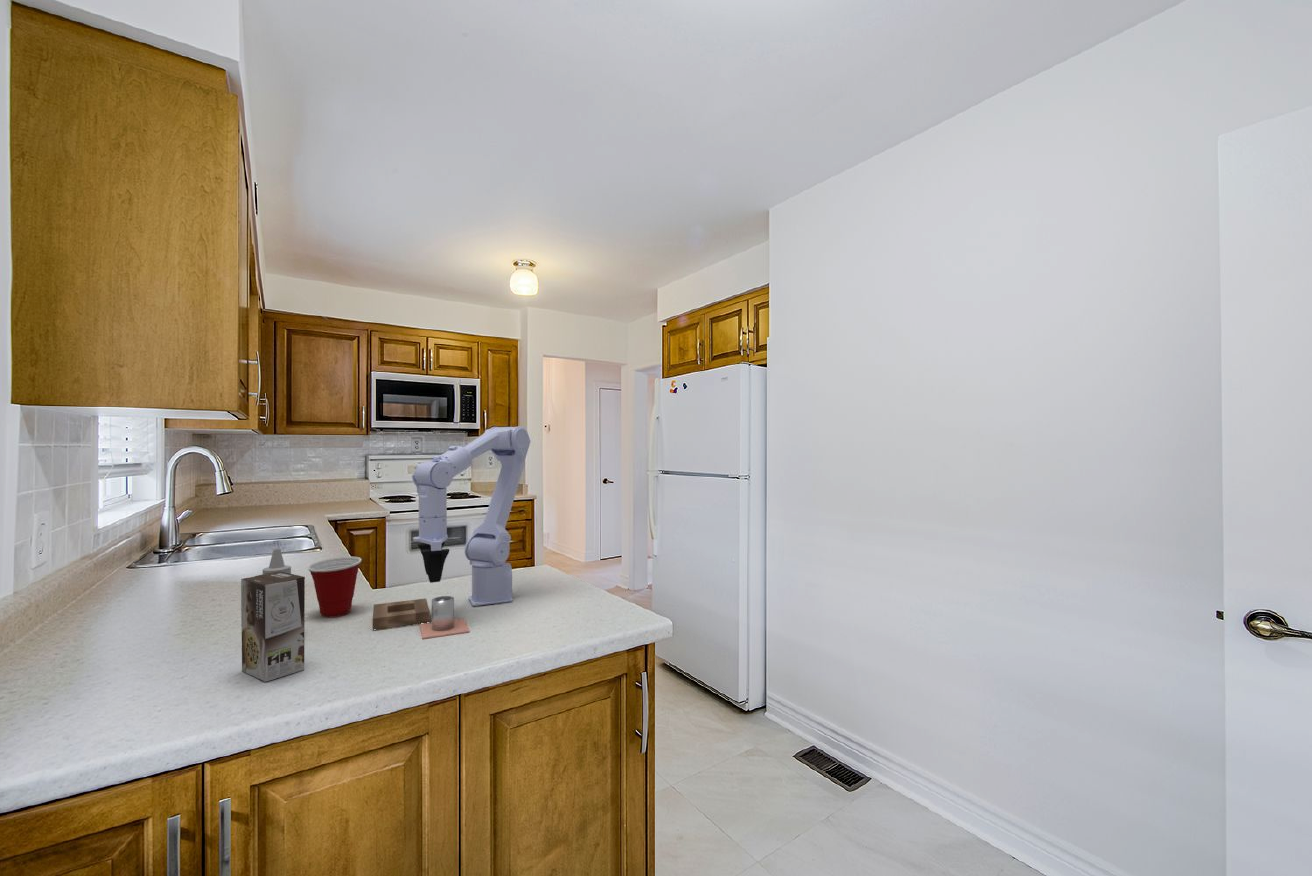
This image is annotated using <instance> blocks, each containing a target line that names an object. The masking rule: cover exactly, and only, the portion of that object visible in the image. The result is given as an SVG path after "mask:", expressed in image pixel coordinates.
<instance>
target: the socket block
mask: <svg viewBox="0 0 1312 876" xmlns="http://www.w3.org/2000/svg"><path fill="white" fill-rule="evenodd" d="M430 615H431V614H430V607H429V604H428V600H427V598H426V597H425V598H418V599H411V600H400V601H393V602H386V603H385V602H384V603H377V604H373V609H372V631H373V630H374V629H381V630H388V629H387V628H389V629H393V628H392V627H396V628H401V627H400V626H403V627H408V626H407V625H411V626H414V625H413V624H418V625H420V624H421V623H425V624H426V623H427V622H430V619H431V618H430V617H431V616H430ZM430 623H431V622H430ZM374 631H375V630H374Z"/></svg>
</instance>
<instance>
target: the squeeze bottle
mask: <svg viewBox="0 0 1312 876" xmlns="http://www.w3.org/2000/svg"><path fill="white" fill-rule="evenodd" d="M278 571H281V572H285V573H290V574H292V566H290V565H288V564H287V565H286V564H285V561H284V557H283V553H282V549H281V548H275V549H273V550H272V554H271V559H270V561H269V565H268V567H265V568H263V569H262V574H267V573H272V572H278Z"/></svg>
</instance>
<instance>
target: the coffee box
mask: <svg viewBox="0 0 1312 876" xmlns="http://www.w3.org/2000/svg"><path fill="white" fill-rule="evenodd" d="M305 580H306V577H305V576H302V575H299V574H293V573H291V574H290V573H285V572H281V571H278V572H272V573H267V574H263V573H262V574H259V575H255V576H251V577H246V578H245V577H244V578H241V580H240V582H241V583H240V584H241V585H240V593H241V594H240V596H241V597H240V599H241V600H240V602H241V604H240V609H241V611H240V612H241V614H240V615H241V616H240V617H241V622H240V623H241V625H240V626H241V672H243V673H245V674H248V675H250V676H252V677H254V678H256V679H258V680H261V681H262V682H265V683H266V682H270V681H274V680H276V679H279V678H282V677H285V676H289V675H292V674H294V673H295V674H296V673H298V672H302V671H304V670H305V622H306V621H305V616H306V615H305V610H306V609H305V597H306V596H305V594H306V592H305V591H306V590H305V588H306V587H305V583H306V581H305Z"/></svg>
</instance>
